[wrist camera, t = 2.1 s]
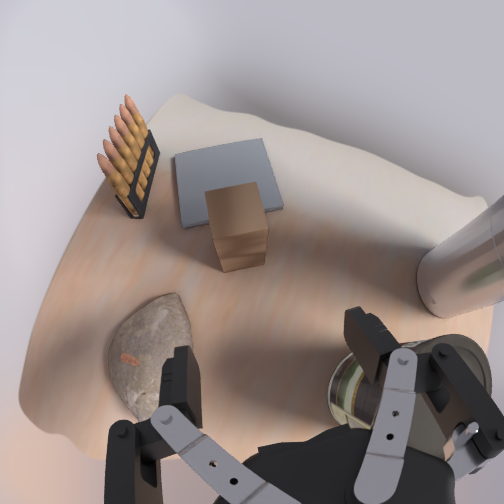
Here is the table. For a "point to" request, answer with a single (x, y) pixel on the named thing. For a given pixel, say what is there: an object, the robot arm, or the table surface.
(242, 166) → the slate mat
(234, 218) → the walnut block
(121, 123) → the ammunition clip
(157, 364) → the rock
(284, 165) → the table surface
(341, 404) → the coffee can
